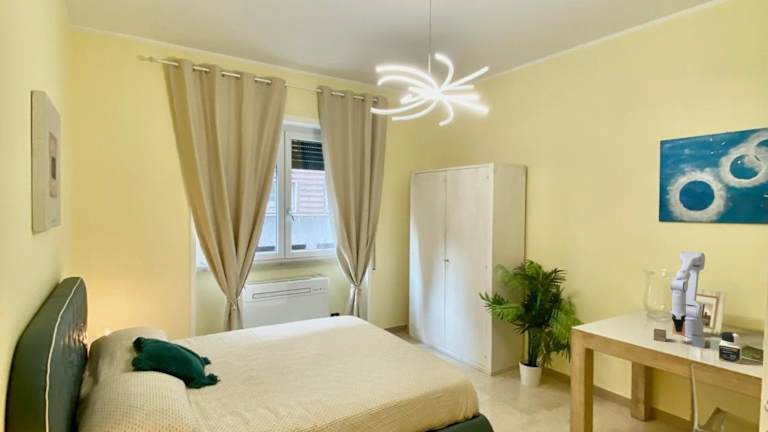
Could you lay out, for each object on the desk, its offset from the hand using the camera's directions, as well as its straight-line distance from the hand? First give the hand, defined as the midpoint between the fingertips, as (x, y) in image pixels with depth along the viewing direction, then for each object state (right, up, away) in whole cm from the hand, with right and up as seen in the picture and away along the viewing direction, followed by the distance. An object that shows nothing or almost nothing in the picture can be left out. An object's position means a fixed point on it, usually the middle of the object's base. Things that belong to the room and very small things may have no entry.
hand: (678, 330), depth 206 cm
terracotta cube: (0, -2, 0) cm, 2 cm away
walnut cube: (-6, -6, +5) cm, 10 cm away
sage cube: (+11, -6, -10) cm, 16 cm away
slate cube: (+6, -6, -5) cm, 10 cm away
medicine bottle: (+6, -7, -23) cm, 25 cm away
